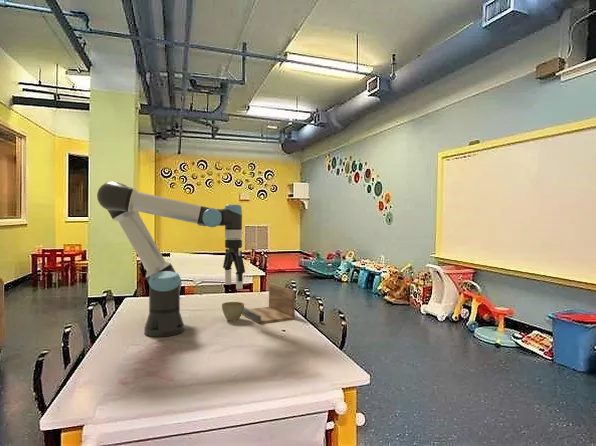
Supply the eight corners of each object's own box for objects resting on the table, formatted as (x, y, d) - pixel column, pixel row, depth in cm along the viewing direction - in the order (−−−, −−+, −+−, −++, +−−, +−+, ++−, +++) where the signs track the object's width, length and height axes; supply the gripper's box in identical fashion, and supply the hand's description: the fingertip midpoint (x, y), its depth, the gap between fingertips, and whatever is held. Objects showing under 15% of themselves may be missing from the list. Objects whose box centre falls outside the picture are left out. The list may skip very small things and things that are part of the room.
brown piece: (258, 324, 179) (258, 294, 178) (237, 312, 199) (237, 285, 199) (294, 319, 188) (294, 290, 188) (270, 308, 209) (271, 282, 208)
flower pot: (242, 322, 180) (242, 306, 180) (219, 322, 181) (219, 306, 181) (245, 317, 190) (245, 301, 190) (224, 316, 191) (224, 301, 191)
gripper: (252, 240, 176) (252, 290, 176) (231, 237, 198) (231, 281, 198) (236, 240, 172) (236, 291, 173) (216, 237, 194) (216, 283, 194)
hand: (233, 286), depth 185 cm, fingers open, 13 cm apart
